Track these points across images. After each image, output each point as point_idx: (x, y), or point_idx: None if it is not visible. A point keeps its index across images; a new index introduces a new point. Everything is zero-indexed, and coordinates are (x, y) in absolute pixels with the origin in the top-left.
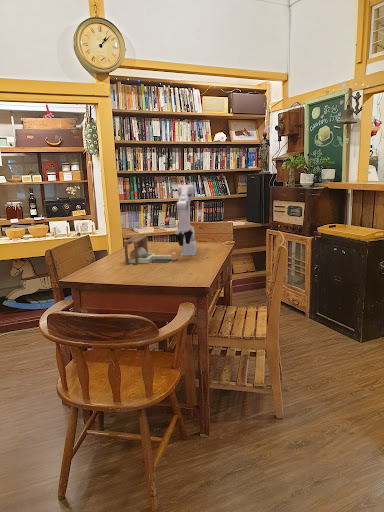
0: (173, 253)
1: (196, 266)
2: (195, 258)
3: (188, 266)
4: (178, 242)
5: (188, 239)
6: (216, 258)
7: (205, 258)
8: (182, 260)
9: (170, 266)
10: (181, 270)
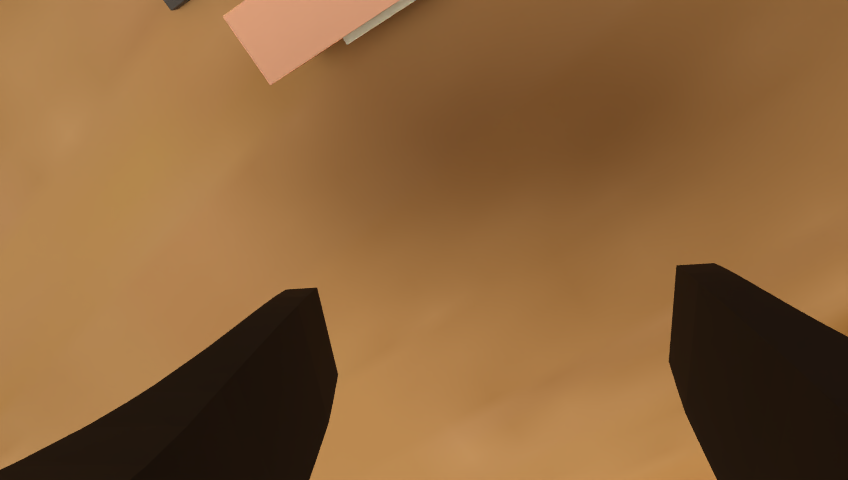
0: (301, 4)
1: None
2: (714, 207)
3: None
4: (220, 340)
5: (734, 466)
6: None
7: None
8: (470, 107)
9: (71, 215)
10: None
